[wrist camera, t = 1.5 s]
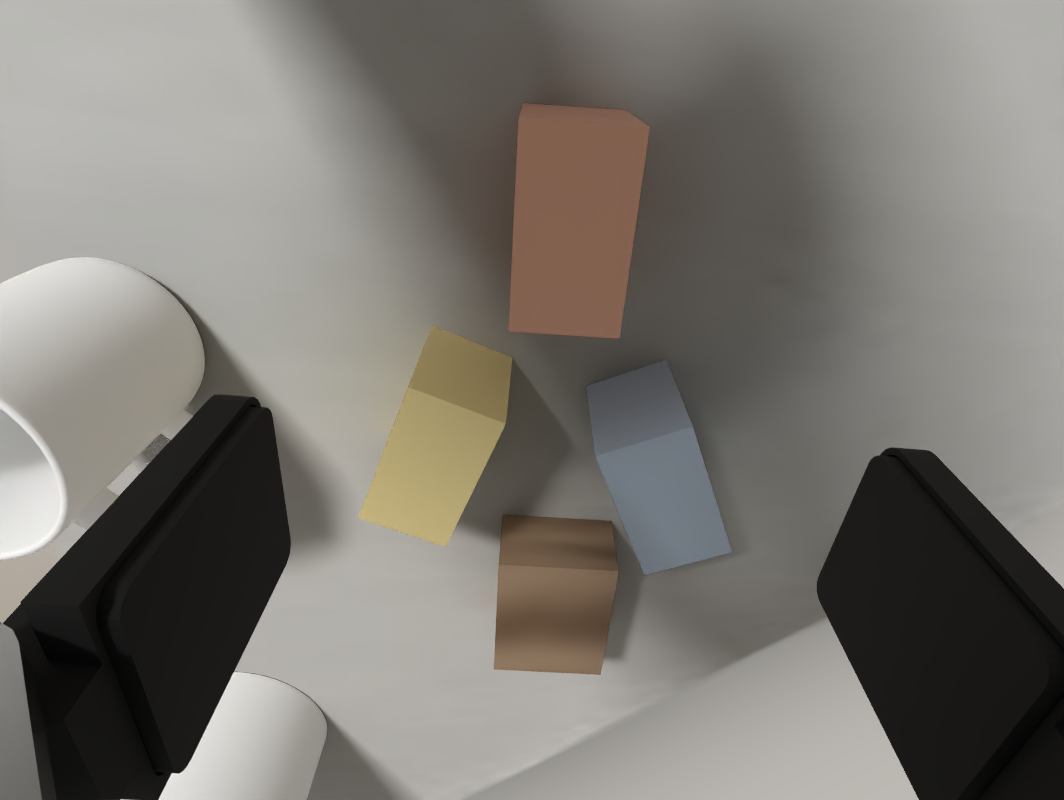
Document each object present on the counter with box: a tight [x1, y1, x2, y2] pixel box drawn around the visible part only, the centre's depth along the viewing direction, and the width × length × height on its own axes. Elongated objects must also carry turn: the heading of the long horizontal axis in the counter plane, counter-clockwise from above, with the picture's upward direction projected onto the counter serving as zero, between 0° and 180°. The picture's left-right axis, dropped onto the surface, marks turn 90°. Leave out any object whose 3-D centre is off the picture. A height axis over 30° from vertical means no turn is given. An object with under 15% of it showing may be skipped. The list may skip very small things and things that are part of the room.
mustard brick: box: [358, 326, 512, 547], centre depth 28 cm, size 7×4×6 cm, turn 156°
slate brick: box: [586, 360, 732, 575], centre depth 29 cm, size 7×4×6 cm, turn 21°
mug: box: [0, 257, 205, 560], centre depth 25 cm, size 12×8×10 cm
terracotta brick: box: [508, 103, 650, 339], centre depth 23 cm, size 7×4×6 cm, turn 176°
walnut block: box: [494, 515, 619, 675], centre depth 34 cm, size 8×6×4 cm
